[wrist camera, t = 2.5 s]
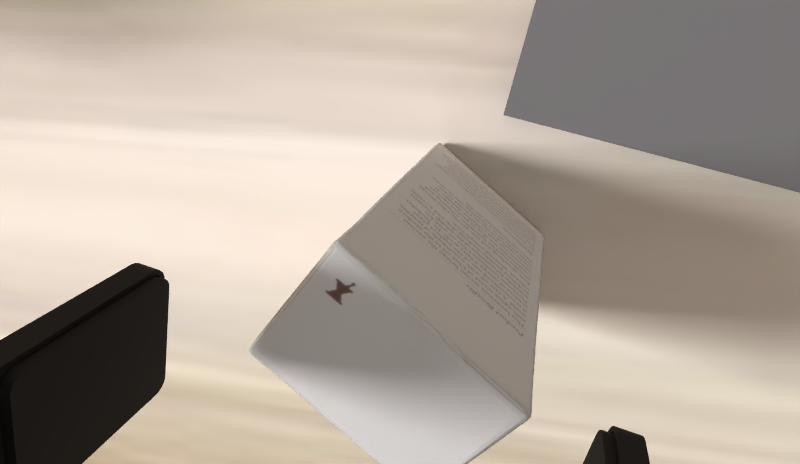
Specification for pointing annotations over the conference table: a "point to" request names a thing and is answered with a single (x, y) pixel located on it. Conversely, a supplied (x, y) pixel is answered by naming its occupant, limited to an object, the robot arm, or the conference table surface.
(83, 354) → the robot arm
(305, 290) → the skincare box
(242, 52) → the conference table surface
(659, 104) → the mat
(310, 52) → the conference table surface
